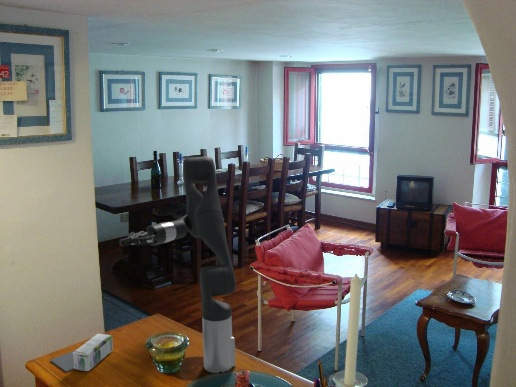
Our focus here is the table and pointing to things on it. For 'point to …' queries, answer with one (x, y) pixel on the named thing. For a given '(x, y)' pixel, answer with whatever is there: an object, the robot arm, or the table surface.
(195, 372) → the table surface
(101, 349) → the syrup box
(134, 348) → the table surface
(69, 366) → the charcoal mat
